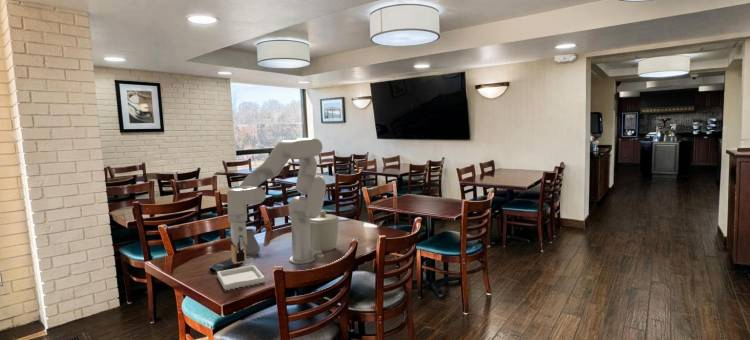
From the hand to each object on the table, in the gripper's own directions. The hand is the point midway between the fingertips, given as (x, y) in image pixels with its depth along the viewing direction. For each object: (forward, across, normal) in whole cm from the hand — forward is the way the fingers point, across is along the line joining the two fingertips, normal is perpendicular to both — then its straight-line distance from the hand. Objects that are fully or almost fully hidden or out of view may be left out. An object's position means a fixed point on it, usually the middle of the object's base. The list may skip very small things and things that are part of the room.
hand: (239, 259), depth 172 cm
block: (+1, 0, 0) cm, 1 cm away
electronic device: (+10, +20, +2) cm, 22 cm away
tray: (+9, 0, 0) cm, 9 cm away
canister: (+9, +22, -48) cm, 54 cm away
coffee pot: (+9, +36, -16) cm, 41 cm away
